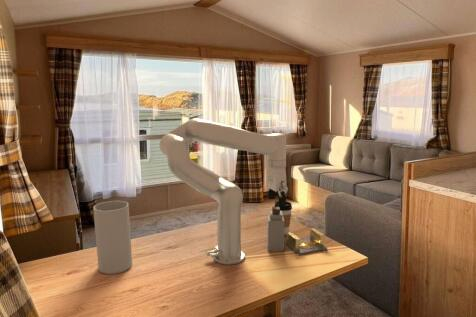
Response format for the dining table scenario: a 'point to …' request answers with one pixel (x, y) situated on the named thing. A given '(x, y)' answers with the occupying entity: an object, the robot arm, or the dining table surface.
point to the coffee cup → (285, 215)
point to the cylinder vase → (113, 236)
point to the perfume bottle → (275, 230)
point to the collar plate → (306, 242)
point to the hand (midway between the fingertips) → (276, 202)
